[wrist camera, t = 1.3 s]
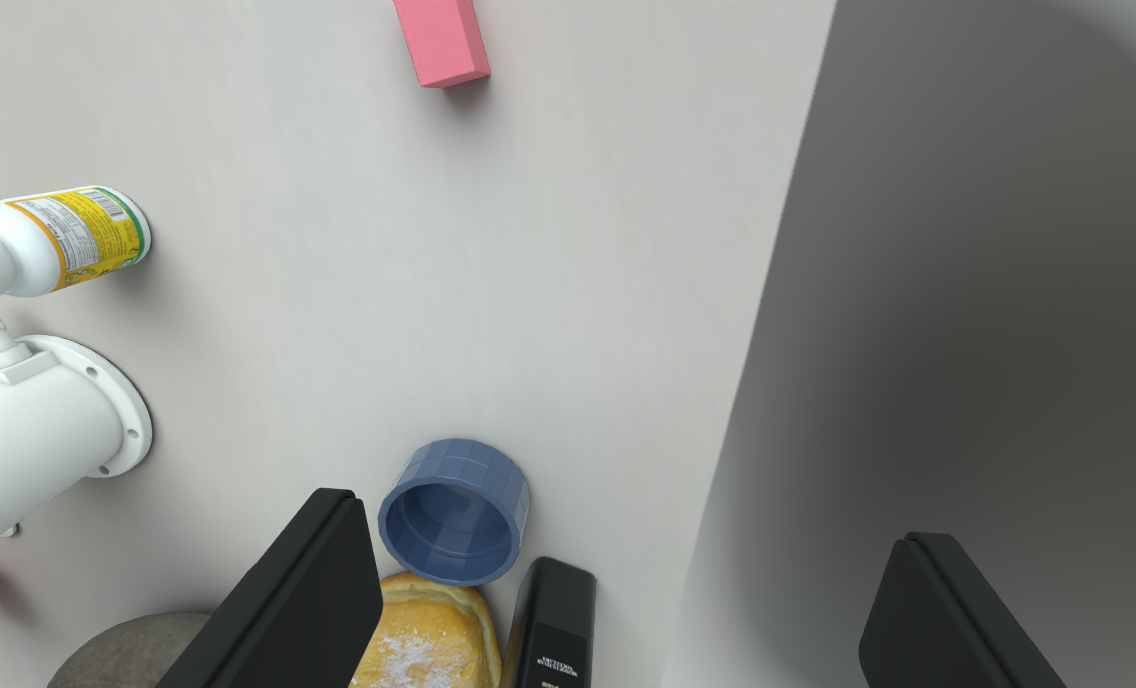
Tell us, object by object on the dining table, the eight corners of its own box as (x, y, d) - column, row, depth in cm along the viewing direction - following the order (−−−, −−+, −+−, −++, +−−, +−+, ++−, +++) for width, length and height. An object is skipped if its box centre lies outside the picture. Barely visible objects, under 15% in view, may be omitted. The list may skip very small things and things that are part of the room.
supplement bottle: (141, 187, 34) (-24, 217, 25) (163, 267, 36) (19, 320, 28) (63, 181, 34) (-126, 208, 26) (90, 261, 37) (-76, 311, 28)
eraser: (410, -13, 28) (383, -28, 25) (463, -31, 27) (442, -48, 24) (441, 88, 30) (420, 87, 27) (491, 74, 29) (475, 71, 26)
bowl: (385, 444, 41) (355, 487, 36) (510, 425, 39) (495, 467, 34) (429, 543, 45) (407, 592, 40) (545, 529, 43) (535, 580, 38)
